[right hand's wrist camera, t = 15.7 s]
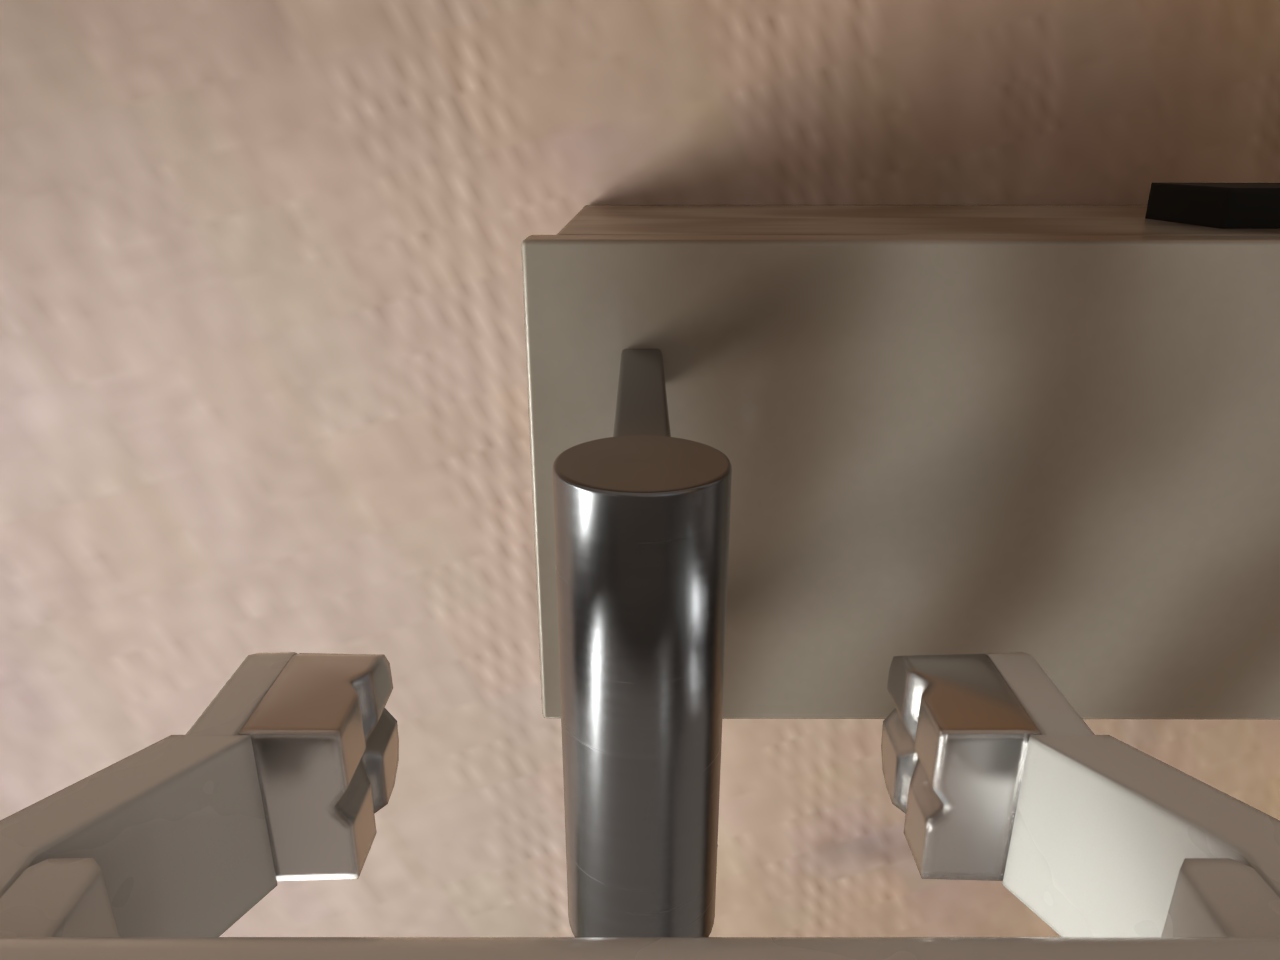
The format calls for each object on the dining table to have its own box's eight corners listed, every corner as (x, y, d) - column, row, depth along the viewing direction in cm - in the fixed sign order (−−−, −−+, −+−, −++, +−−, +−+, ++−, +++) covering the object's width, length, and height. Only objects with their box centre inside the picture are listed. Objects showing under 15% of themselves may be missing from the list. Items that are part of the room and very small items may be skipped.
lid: (546, 693, 19) (480, 1072, 11) (527, 234, 15) (413, 318, 8) (1353, 693, 19) (1851, 1074, 11) (1504, 235, 15) (2364, 319, 8)
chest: (590, 526, 27) (568, 691, 19) (584, 204, 24) (553, 234, 16) (1135, 527, 27) (1351, 692, 19) (1203, 205, 24) (1501, 234, 16)
